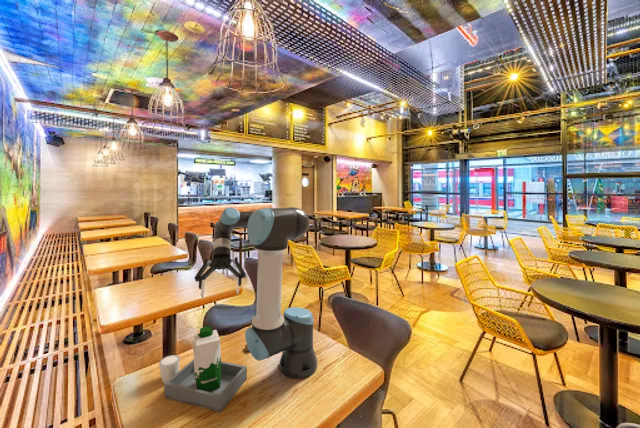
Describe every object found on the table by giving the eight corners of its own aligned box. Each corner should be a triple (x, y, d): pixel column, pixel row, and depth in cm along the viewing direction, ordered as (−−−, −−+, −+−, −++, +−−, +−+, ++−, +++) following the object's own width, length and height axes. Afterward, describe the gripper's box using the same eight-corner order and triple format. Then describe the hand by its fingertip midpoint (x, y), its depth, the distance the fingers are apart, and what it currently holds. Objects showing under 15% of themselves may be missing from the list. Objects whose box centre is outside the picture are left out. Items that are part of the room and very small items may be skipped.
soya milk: (218, 373, 104) (217, 323, 102) (223, 388, 96) (221, 334, 94) (193, 381, 100) (191, 328, 98) (196, 397, 92) (194, 341, 90)
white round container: (157, 385, 99) (156, 367, 98) (162, 373, 105) (161, 356, 105) (178, 382, 101) (177, 364, 100) (182, 370, 107) (181, 353, 107)
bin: (246, 378, 103) (246, 366, 102) (220, 412, 87) (220, 397, 87) (197, 368, 109) (197, 356, 108) (164, 397, 93) (164, 383, 93)
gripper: (250, 253, 130) (251, 295, 117) (193, 256, 124) (188, 301, 110) (250, 244, 125) (251, 287, 112) (190, 247, 118) (184, 293, 105)
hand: (220, 294), depth 111 cm, fingers open, 13 cm apart
